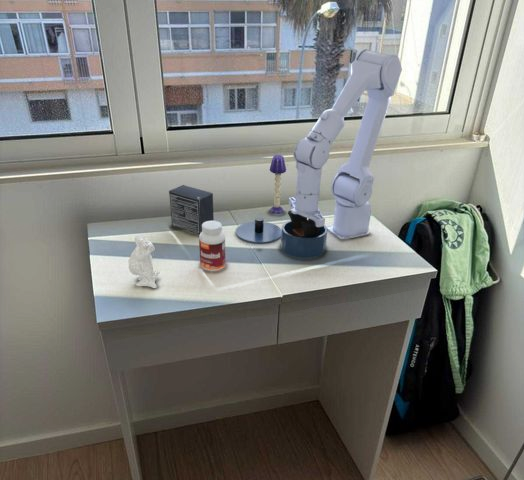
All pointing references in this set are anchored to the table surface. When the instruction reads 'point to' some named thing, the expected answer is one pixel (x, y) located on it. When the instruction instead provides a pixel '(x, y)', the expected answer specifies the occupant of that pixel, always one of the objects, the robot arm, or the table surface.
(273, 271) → the table surface
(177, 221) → the small box
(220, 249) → the pill bottle
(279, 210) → the toy lamp
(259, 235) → the lid
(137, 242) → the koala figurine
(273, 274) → the table surface
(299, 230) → the block
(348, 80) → the robot arm
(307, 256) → the bowl
